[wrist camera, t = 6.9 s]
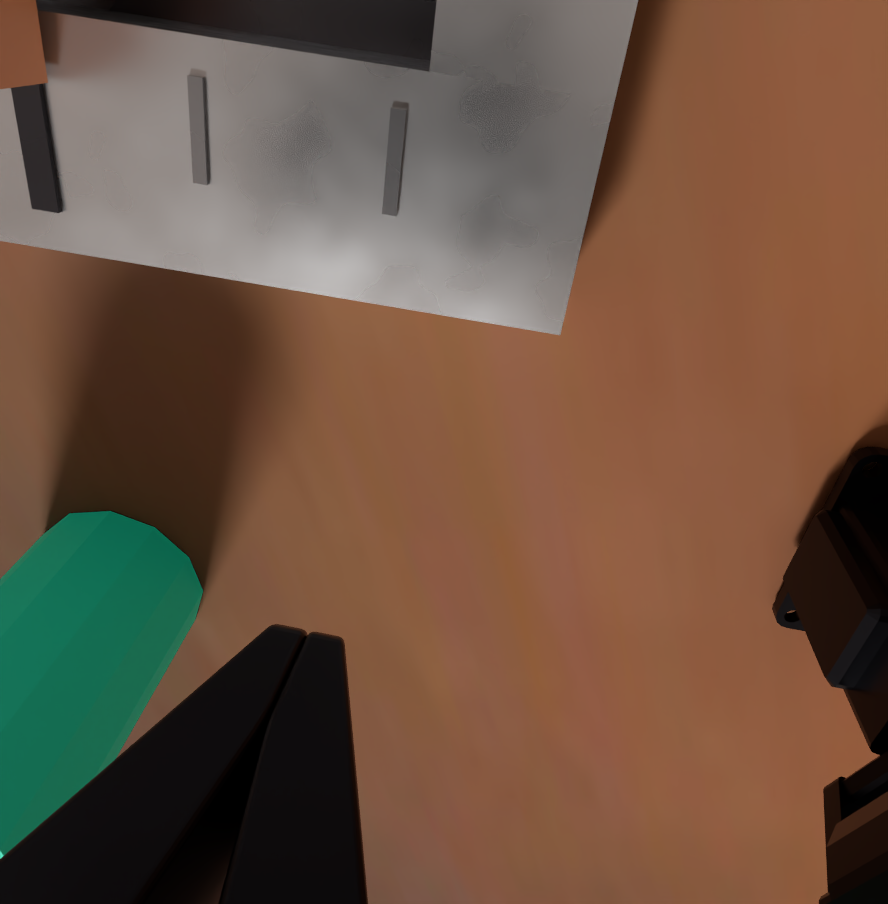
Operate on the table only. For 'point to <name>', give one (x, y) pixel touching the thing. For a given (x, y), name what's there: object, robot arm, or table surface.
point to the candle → (82, 655)
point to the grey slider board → (323, 144)
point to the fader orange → (20, 45)
